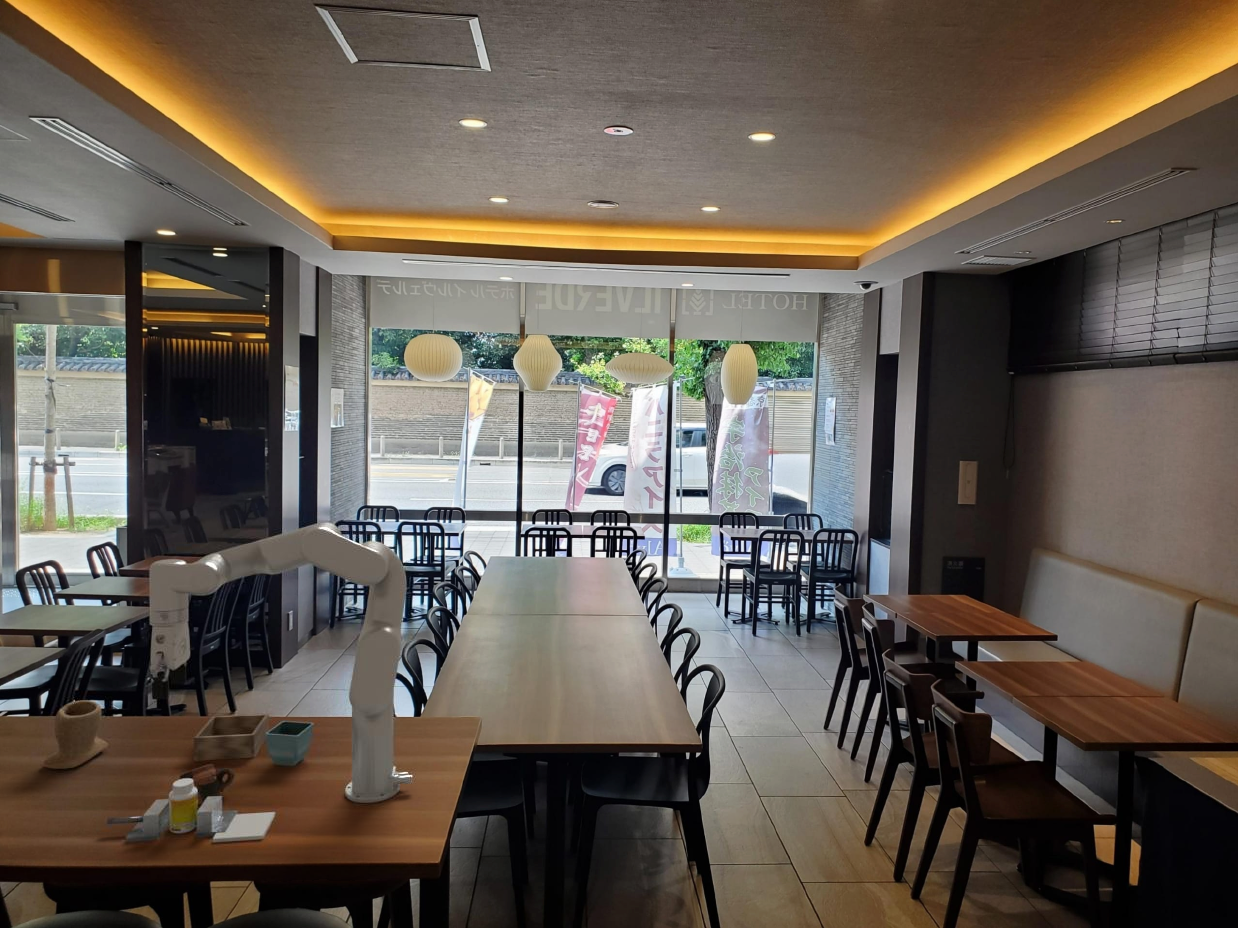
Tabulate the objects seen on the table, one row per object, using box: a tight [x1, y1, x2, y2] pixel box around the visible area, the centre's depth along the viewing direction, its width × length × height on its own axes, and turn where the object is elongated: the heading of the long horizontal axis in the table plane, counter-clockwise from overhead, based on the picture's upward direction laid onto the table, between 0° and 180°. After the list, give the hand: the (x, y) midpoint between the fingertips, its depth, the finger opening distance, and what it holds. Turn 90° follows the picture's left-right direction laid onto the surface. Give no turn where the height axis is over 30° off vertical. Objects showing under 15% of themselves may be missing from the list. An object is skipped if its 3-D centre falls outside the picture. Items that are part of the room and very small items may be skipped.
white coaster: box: [212, 811, 276, 843], centre depth 175 cm, size 10×10×1 cm
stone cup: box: [42, 699, 109, 770], centre depth 206 cm, size 15×12×15 cm
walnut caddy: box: [193, 713, 270, 762], centre depth 215 cm, size 15×15×6 cm
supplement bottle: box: [168, 778, 199, 834], centre depth 174 cm, size 6×6×10 cm
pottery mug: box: [179, 763, 236, 806], centre depth 189 cm, size 12×10×8 cm
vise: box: [106, 795, 239, 843], centre depth 174 cm, size 25×9×5 cm, turn 100°
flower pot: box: [265, 720, 315, 767], centre depth 207 cm, size 9×9×9 cm
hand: (169, 690), depth 180 cm, fingers open, 9 cm apart
